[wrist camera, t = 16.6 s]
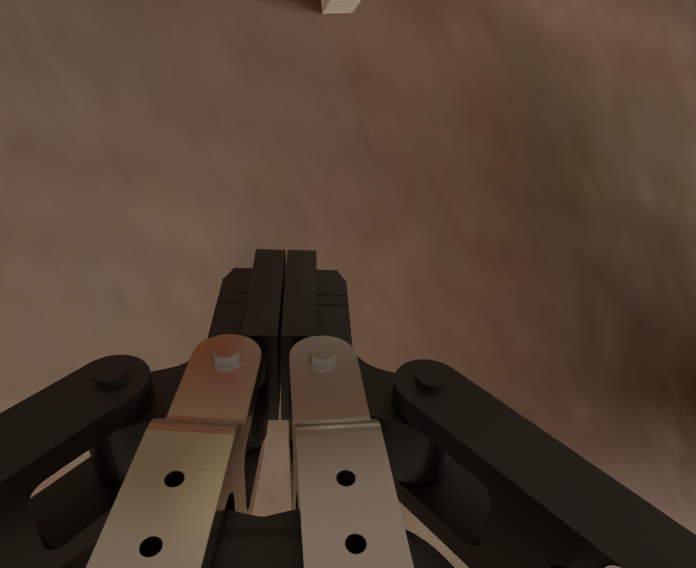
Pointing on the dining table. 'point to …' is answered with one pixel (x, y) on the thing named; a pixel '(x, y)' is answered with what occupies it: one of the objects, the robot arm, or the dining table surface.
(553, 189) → the dining table surface
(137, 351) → the dining table surface
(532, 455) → the robot arm
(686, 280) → the dining table surface
